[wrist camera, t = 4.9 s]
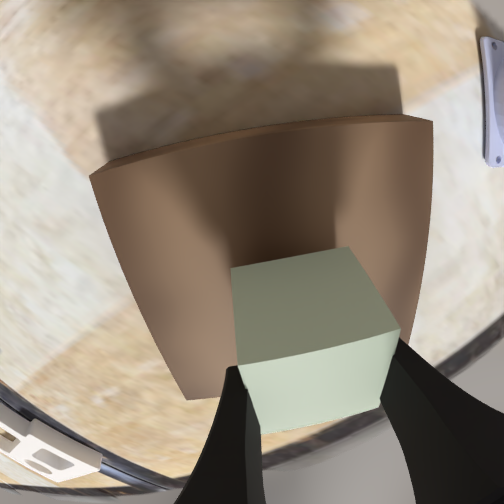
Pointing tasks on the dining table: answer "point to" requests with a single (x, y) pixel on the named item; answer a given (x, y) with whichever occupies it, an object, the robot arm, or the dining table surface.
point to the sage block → (311, 338)
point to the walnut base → (264, 223)
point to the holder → (45, 448)
